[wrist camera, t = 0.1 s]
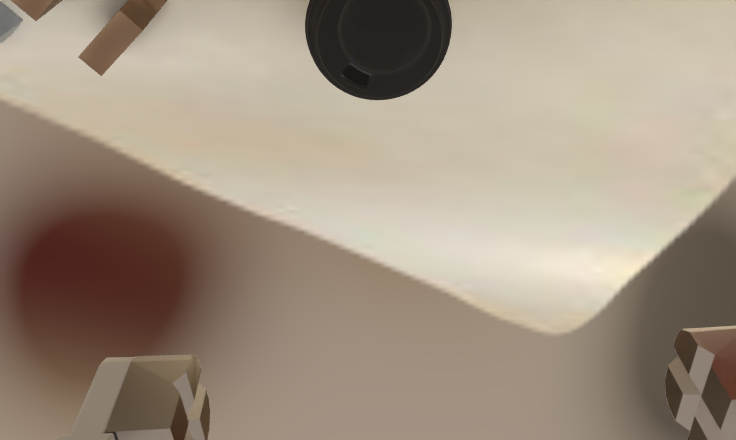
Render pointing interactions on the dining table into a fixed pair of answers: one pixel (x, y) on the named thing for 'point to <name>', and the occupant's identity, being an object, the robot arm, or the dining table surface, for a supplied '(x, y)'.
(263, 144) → the dining table surface
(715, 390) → the robot arm
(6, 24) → the domino
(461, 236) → the dining table surface
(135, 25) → the domino
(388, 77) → the coffee cup
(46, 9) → the domino
